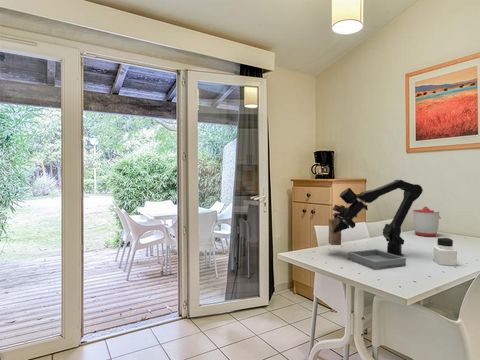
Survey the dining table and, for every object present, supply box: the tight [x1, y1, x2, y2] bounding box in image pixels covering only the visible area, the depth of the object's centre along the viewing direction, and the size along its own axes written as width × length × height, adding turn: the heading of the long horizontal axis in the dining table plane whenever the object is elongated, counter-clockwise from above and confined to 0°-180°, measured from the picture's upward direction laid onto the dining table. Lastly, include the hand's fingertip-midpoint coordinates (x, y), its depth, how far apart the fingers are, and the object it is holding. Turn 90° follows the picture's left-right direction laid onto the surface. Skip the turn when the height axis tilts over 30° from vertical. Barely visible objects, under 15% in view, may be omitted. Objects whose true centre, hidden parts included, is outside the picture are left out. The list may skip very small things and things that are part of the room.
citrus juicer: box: [412, 206, 442, 237], centre depth 212 cm, size 16×17×20 cm
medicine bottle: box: [433, 237, 458, 267], centre depth 146 cm, size 7×7×12 cm
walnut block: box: [328, 218, 342, 246], centre depth 161 cm, size 5×5×13 cm
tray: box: [347, 248, 407, 271], centre depth 147 cm, size 18×18×4 cm
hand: (332, 231), depth 161 cm, fingers closed on walnut block, 5 cm apart
